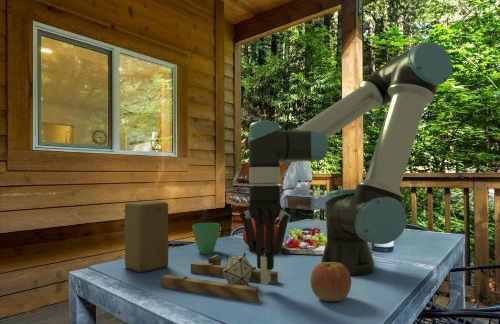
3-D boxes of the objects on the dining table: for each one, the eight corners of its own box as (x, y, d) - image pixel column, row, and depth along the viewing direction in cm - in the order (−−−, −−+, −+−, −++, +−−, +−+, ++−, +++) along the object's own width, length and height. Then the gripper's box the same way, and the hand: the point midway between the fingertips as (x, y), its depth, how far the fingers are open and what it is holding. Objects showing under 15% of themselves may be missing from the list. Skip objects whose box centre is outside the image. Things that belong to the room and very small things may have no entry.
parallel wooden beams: (281, 278, 88) (281, 261, 88) (254, 302, 72) (254, 281, 72) (200, 267, 99) (200, 253, 99) (160, 286, 83) (160, 269, 83)
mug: (223, 253, 117) (223, 225, 117) (196, 256, 113) (196, 227, 113) (210, 245, 130) (210, 220, 130) (186, 248, 126) (186, 222, 126)
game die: (243, 304, 80) (250, 278, 75) (212, 289, 82) (217, 263, 77) (255, 276, 88) (262, 251, 82) (226, 264, 89) (232, 238, 84)
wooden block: (169, 266, 101) (169, 201, 102) (139, 274, 94) (139, 204, 94) (152, 261, 108) (152, 200, 108) (123, 267, 100) (123, 202, 101)
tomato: (249, 255, 114) (249, 226, 114) (239, 245, 130) (239, 220, 130) (288, 252, 117) (287, 225, 118) (274, 243, 133) (273, 219, 133)
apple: (357, 306, 69) (356, 267, 69) (316, 307, 68) (315, 269, 69) (342, 291, 78) (341, 257, 78) (306, 292, 77) (305, 258, 77)
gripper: (294, 184, 81) (296, 281, 80) (246, 184, 86) (247, 275, 85) (285, 185, 74) (286, 291, 73) (233, 185, 79) (234, 283, 78)
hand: (265, 282), depth 79 cm, fingers closed
